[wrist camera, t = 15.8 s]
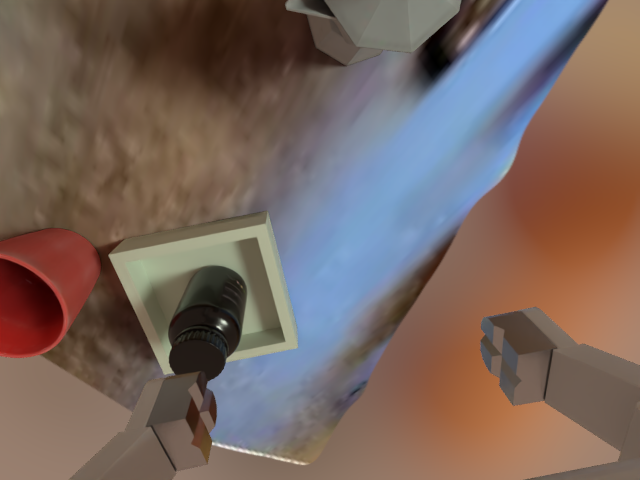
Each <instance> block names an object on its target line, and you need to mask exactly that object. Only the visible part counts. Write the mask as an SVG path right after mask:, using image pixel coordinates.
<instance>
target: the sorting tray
mask: <svg viewBox="0 0 640 480" xmlns="http://www.w3.org/2000/svg"><path fill="white" fill-rule="evenodd" d="M108 256H109V258H110V260H111V262H112V264H113V266H114V268H115V270H116V273H117V275H118V277H119V279H120V281H121V283H122V285H123V287H124V290H125V292H126V294H127V296H128V298H129V300H130V302H131V304H132V307H133V309H134V311H135V313H136V315H137V317H138V319H139V321H140V324H141V326H142V328H143V330H144V332H145V334H146V336H147V338H148V341H149V343H150V345H151V347H152V349H153V351H154V353H155V355H156V358H157V360H158V362H159V364H160V366H161V368H162V370H163V372H164V375H165V374H170V373H174V372H173V371H172V369H171V368H170V364H169V355H170V351H171V348H172V347H171V344H170V342H169V338H168V328H169V324H170V322H171V319H172V317H173V315H174V313H175V311H176V308H177V306H178V304H179V302H180V300H181V297H182V295H183V293H184V291H185V289H186V287H187V284H188V282H189V281H190V279H191V277H192V276H193V275H194V274H195V273H196V272H198V271H199V270H201V269H203V268H206V267H209V266H223V267H227V268H230V269H232V270H234V271H235V272H237V273H238V274H239V275H240V276H241V277H242V278H243V280H244V281H245V284H246V286H247V302H246V309H245V315H244V322H243V329H242V335H241V340H240V343H239V345H238V347H237V349H236V350H235V351H234V353H233V354H232V355H230V356H229V357H228V358H227V359H226V362H230V361H235V360H240V359H245V358H250V357H255V356H260V355H265V354H270V353H275V352H280V351H285V350H290V349H295V348H298V338H297V325H296V321H295V317H294V313H293V309H292V305H291V301H290V297H289V293H288V289H287V285H286V281H285V277H284V273H283V269H282V265H281V261H280V258H279V254H278V250H277V246H276V242H275V238H274V234H273V230H272V226H271V222H270V218H269V214H268V211H264V212H259V213H254V214H249V215H244V216H239V217H234V218H229V219H224V220H219V221H214V222H208V223H203V224H198V225H193V226H188V227H183V228H178V229H173V230H168V231H163V232H158V233H153V234H148V235H143V236H138V237H133V238H128V239H124V240H123V241H122V242H121V243H120V244H119V245H118V246H117V247H116V248H115V249H114V250H113V251H112V252H111V253H110V254H109V255H108Z"/></svg>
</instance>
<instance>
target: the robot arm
mask: <svg viewBox="0 0 640 480" xmlns="http://www.w3.org/2000/svg"><path fill="white" fill-rule="evenodd" d="M481 329H482V330H483V332H484V333H485V336H484V337H483V338H482V339H481V353H482V357H483V360H484V362H485V365H486V367H487V368H488V370H489V371H490V373H492V374H493V375H495V376H497V377H499V378H500V385H499V386H500V387H501V389H502V390H503V392H504V393H505V395H506V396H507V398H508V399H509V401H510V402H511V403H512V405H514V406H515V405H521V404H527V403H533V402H539V401H545V403H547V404H548V405H550V406H551V407H553V408H554V409H556V410H557V411H559V412H561V413H562V414H563V415H565V416H567V417H568V418H570V419H571V420H573V421H574V422H576V423H578V424H579V425H580V426H582V427H584V428H585V429H587V430H588V431H590V432H592V433H593V434H594V435H596V436H597V437H599V438H600V439H602V440H604V441H605V442H607V443H608V444H610V445H611V446H613V447H614V448H616V449H618V450H619V451H621V453H620V456H619V459H618V462H613V463H607V464H602V465H597V466H592V467H588V468H582V469H577V470H571V471H566V472H562V473H556V474H551V475H546V476H540V477H535V478H531V479H525V480H640V365H638V364H635V363H633V362H630V361H627V360H625V359H622V358H620V357H617V356H614V355H612V354H609V353H606V352H604V351H602V350H599V349H596V348H594V347H591V346H589V345H586V344H580V345H578V344H577V343H576V342H575V341H574V340H573V339H572V338H571V337H570V336H569V335H568V334H566V333H565V332H564V331H563V330H562V329H561V328H560V327H559V326H558V325H557V324H556V323H555V322H554V321H552V320H551V319H550V318H549V317H548V316H547V315H546V314H545V313H544V312H543V311H542V310H540V309H539V308H537V307H533V308H528V309H523V310H518V311H514V312H509V313H504V314H499V315H494V316H489V317H484V318H483V320H482V322H481ZM207 383H208V379H207V377H206V375H205V373H204V372H202V371H199V372H193V373H187V374H181V375H175V376H169V377H166V378H159V379H153V380H149V381H148V382H147V383H146V384H145V386H144V388H143V391H142V393H141V395H140V397H139V400H138V402H137V404H136V406H135V409H134V411H133V413H132V415H131V418H130V420H129V422H128V424H127V427H126V429H125V431H124V432H119V433H118V434H117V435H116V436H115V437H114V438H113V439H111V440H110V442H108V443H107V444H106V445H105V446H104V447H103V448H102V449H101V450H100V451H99V452H98V453H97V454H95V456H93V457H92V458H91V459H90V460H89V461H88V462H87V463H86V464H85V465H84V466H83V467H82V468H81V469H80V470H78V471H77V472H76V473H75V475H73V476H72V477H71V478H70V479H69V480H172V479H173V477H174V476H175V475H176V471H180V470H185V469H189V468H194V467H198V466H203V465H207V464H208V460H209V455H210V450H211V445H212V439H211V437H210V435H209V433H210V432H211V430H212V429H213V428H214V427H215V424H216V418H217V405H216V400H215V396H214V394H213V392H212V391H211V390H209V389H207V388H206V387H207Z"/></svg>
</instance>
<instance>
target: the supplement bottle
mask: <svg viewBox="0 0 640 480" xmlns="http://www.w3.org/2000/svg"><path fill="white" fill-rule="evenodd" d="M246 302H247V286H246V284H245V281H244V280H243V278H242V277H241V276H240V275H239V274H238V273H237V272H235V271H234V270H232V269H230V268H227V267H223V266H209V267H206V268H203V269H201V270H199V271H198V272H196V273H195V274H194V275H193V276H192V277H191V279H190V281H189V282H188V284H187V287H186V289H185V291H184V293H183V295H182V297H181V300H180V302H179V304H178V306H177V308H176V311H175V313H174V315H173V317H172V319H171V322H170V324H169V328H168V338H169V342H170V344H171V347H172V348H171V351H170V355H169V364H170V368H171V369H172V371H173V372H174V373H175V375H181V374H187V373H193V372H199V371H202V372H204V373H205V375H206V377H207V379H208V381H210V380H211V379H214V378H215V377H217V376H218V375H219V374H220V373H221V372H222V370H223V369H224V366H225V363H226V359H227V358H228V357H229V356H230V355H232V354H233V353H234V351H235V350H236V349H237V347H238V345H239V343H240V340H241V335H242V329H243V322H244V315H245V309H246Z"/></svg>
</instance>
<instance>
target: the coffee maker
mask: <svg viewBox="0 0 640 480" xmlns="http://www.w3.org/2000/svg"><path fill="white" fill-rule="evenodd" d="M460 3H461V0H288V1H287V2H286V3H285V6H286V9H287V10H289V11H294V12H299V13H304V14H306V15H307V19H308V22H309V26H310V29H311V33H312V37H313V40H314V44H315V48H317V49H319V50H320V51H322V52H324V53H325V54H327V55H329V56H330V57H332V58H334V59H335V60H337V61H339V62H340V63H342V64H343V65H345V66H348V65H351V64H354V63H357V62H360V61H363V60H366V59H369V58H372V57H375V56H378V55H380V54H381V52H382V51H383V50H388V51H397V52H405V53H412V52H413V51H414V50H415V49H416V48H417V47H419V46H420V45H421V44H422V43H423V42H424V41H426V40H427V39H428V38H429V37H430V36H431V35H432V34H434V33H435V32H436V31H437V30H438V29H439V28H440V27H442V26H443V25H444V24H445V23H446V22H447V21H448V20H450V19H451V18H452V17H453V16H454V15H455V14H457V13H458V12H459V8H460Z"/></svg>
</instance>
